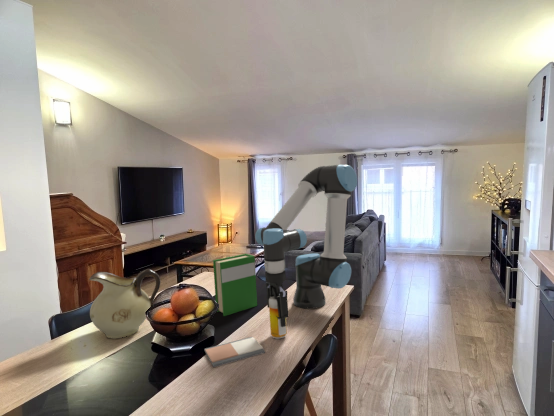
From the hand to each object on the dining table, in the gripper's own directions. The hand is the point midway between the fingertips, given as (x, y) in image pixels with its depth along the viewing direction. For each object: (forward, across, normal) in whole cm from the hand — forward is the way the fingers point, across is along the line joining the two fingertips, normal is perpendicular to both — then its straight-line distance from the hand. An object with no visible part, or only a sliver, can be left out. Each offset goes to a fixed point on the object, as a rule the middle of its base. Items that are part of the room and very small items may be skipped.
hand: (278, 330), depth 128 cm
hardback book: (+3, -36, -4) cm, 36 cm away
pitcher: (+2, -38, -52) cm, 65 cm away
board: (+2, +2, -18) cm, 19 cm away
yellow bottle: (+2, 0, 0) cm, 2 cm away
